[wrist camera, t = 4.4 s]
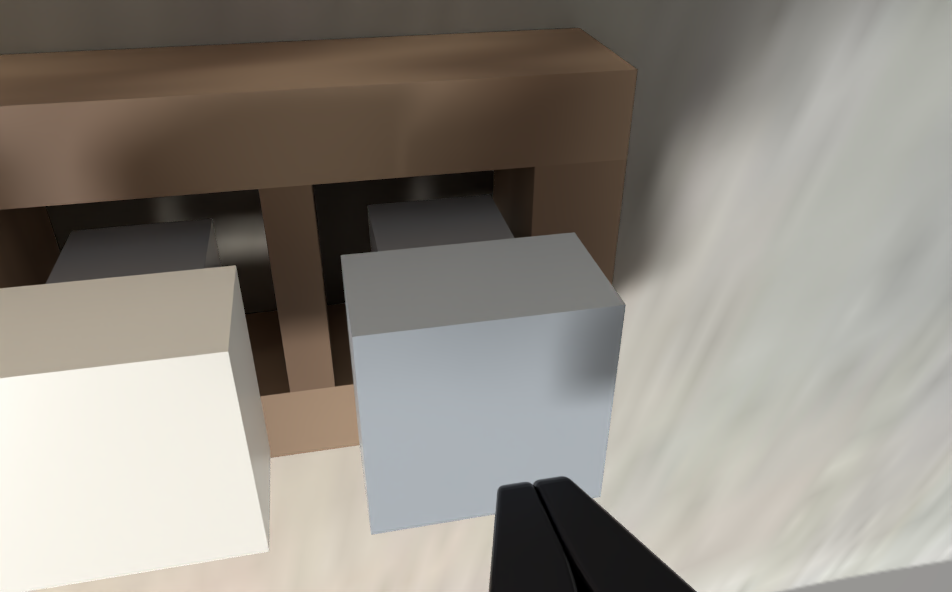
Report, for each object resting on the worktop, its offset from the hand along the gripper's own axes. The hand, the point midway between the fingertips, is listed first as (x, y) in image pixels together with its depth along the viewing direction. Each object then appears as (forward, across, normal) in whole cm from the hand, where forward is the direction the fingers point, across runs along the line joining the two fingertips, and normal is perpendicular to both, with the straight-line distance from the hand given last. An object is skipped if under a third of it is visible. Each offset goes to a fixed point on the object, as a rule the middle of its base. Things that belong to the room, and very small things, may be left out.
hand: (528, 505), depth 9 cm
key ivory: (+6, +5, 0) cm, 8 cm away
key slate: (+6, 0, 0) cm, 6 cm away
